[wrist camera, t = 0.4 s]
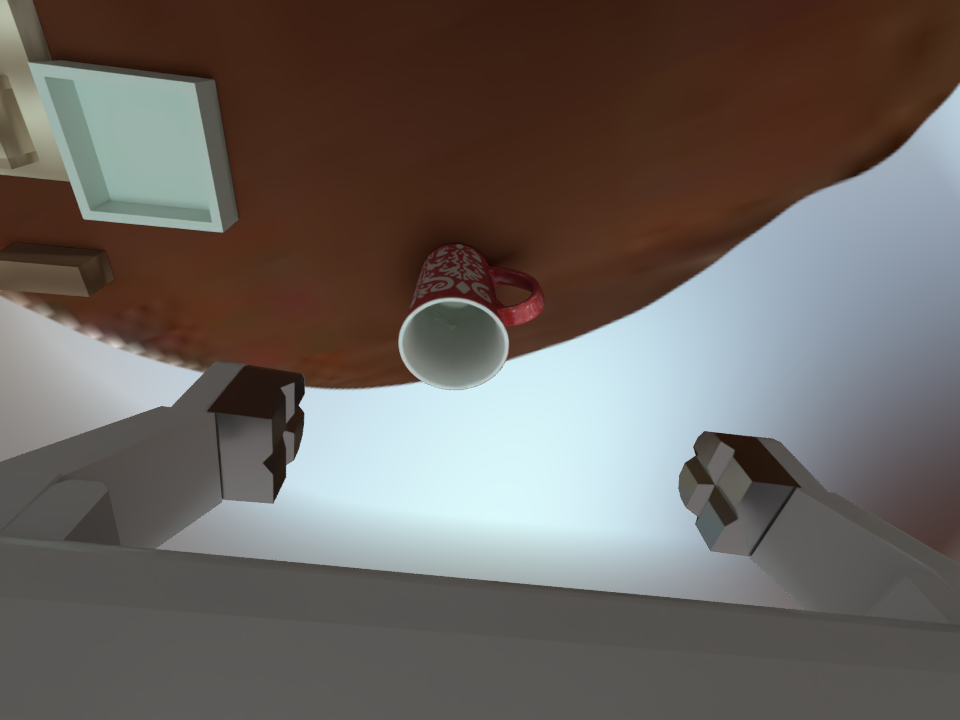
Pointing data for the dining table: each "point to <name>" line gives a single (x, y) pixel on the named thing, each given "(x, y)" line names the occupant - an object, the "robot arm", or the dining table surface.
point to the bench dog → (53, 269)
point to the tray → (140, 144)
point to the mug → (462, 318)
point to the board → (24, 97)
